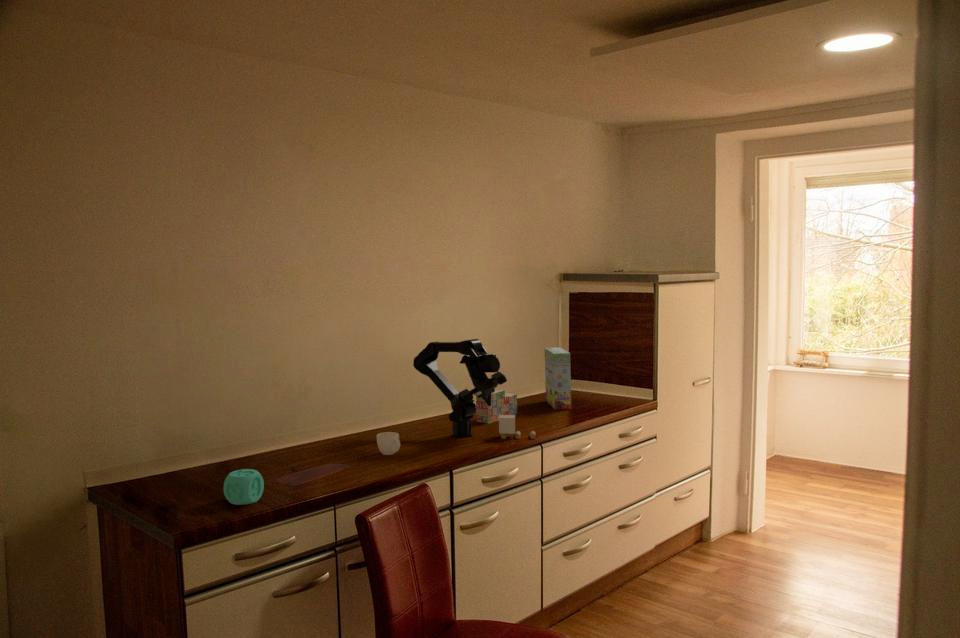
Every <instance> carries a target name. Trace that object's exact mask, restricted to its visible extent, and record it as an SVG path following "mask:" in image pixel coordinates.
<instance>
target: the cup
mask: <svg viewBox="0 0 960 638" xmlns="http://www.w3.org/2000/svg"><path fill="white" fill-rule="evenodd" d="M376 444H377V448H378V450H379V451H380V453H381V454H382V455H384V456H391V455H394V454H395V453H397V452H399V450H400V448H401V441H400V434H399V433H398V432H396V431H395V432H394V431H385V432H384V431H383V432H379V433H377V434H376Z"/></svg>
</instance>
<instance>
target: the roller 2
mask: <svg viewBox="0 0 960 638" xmlns="http://www.w3.org/2000/svg"><path fill="white" fill-rule="evenodd" d="M529 436H530V437H529V438H530V439H531V440H536V438H537V437H536V436H537V435H536V431H534V430H532V431H530V433H529Z"/></svg>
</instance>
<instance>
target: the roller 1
mask: <svg viewBox="0 0 960 638" xmlns="http://www.w3.org/2000/svg"><path fill="white" fill-rule="evenodd" d="M500 439H501V440H506V439H507V434H500Z"/></svg>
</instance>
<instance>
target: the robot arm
mask: <svg viewBox="0 0 960 638" xmlns="http://www.w3.org/2000/svg"><path fill="white" fill-rule="evenodd" d="M439 353H458V354H460V355H463V356H462V357H461V359H460V361H459V364H461V365H463V364H464V365H465V367H466V369H467V372H468V377H470V380H471V383H472V385H473V387H474V388H471V389H470V390H469V389H467V388H465V389H463V390H462V391H461V390H460V391H458V389H456V388H455V386H454V385H453V384H452V382H451V381H450V380H449V379H448V378H447V377H446V376H445V375H444V374H443V372H441V370H440V369H439V367H438V362H437V359H438V358H439ZM412 363H413V364H412V365H413V368H414V370H417V371H418V372H419V373H420V374H422V375H423V376H425V377H426V376H427V377H428V378H429V379H430V381H432V383H433V384H434V385H435V386H436V387H437V388H438V389H439V390H440V392H441V393H442V394H443V395H444V396H445V398H446V399H447V400H448V401H449V402H450V407H451V410H452V411H451V412H450V414H448V419H449V422H452V433H450V434H449V435H450V436H452V437H455V438H458V439H462V438H467V437H472V436H473V435H474V434H473V433H472V423H471V420H472V419H474V415H475V414H476V402H475V400H474V396H475V397H478V398H480V397H481V398H482V399H483V400H484V401H485V403H486V404H487V405H488V406H491V393H493V392H495V389H496V388H497V387H498V386H500V385H503V384H504V383H507V382H508V379H507V377H506V375H504V373H502V372H501V371H500V367H501V363H500V359H499V358H498V357H497V354H496V353H491V354H489V353H488V351H487V350H486V348H485V347H484V346H483V343H482V341H481V340H480V339H478V338H472V339H465V340H461V341H432V342H429V343H428V344H427V345H426V346H425V347H424V348H423V349H422V350H421V351H420V352H419V353H417V355H416V356H415V357H414V358H413V362H412ZM487 373H493V374H491V375H490V377H488V376H487ZM473 437H474V436H473Z"/></svg>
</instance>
